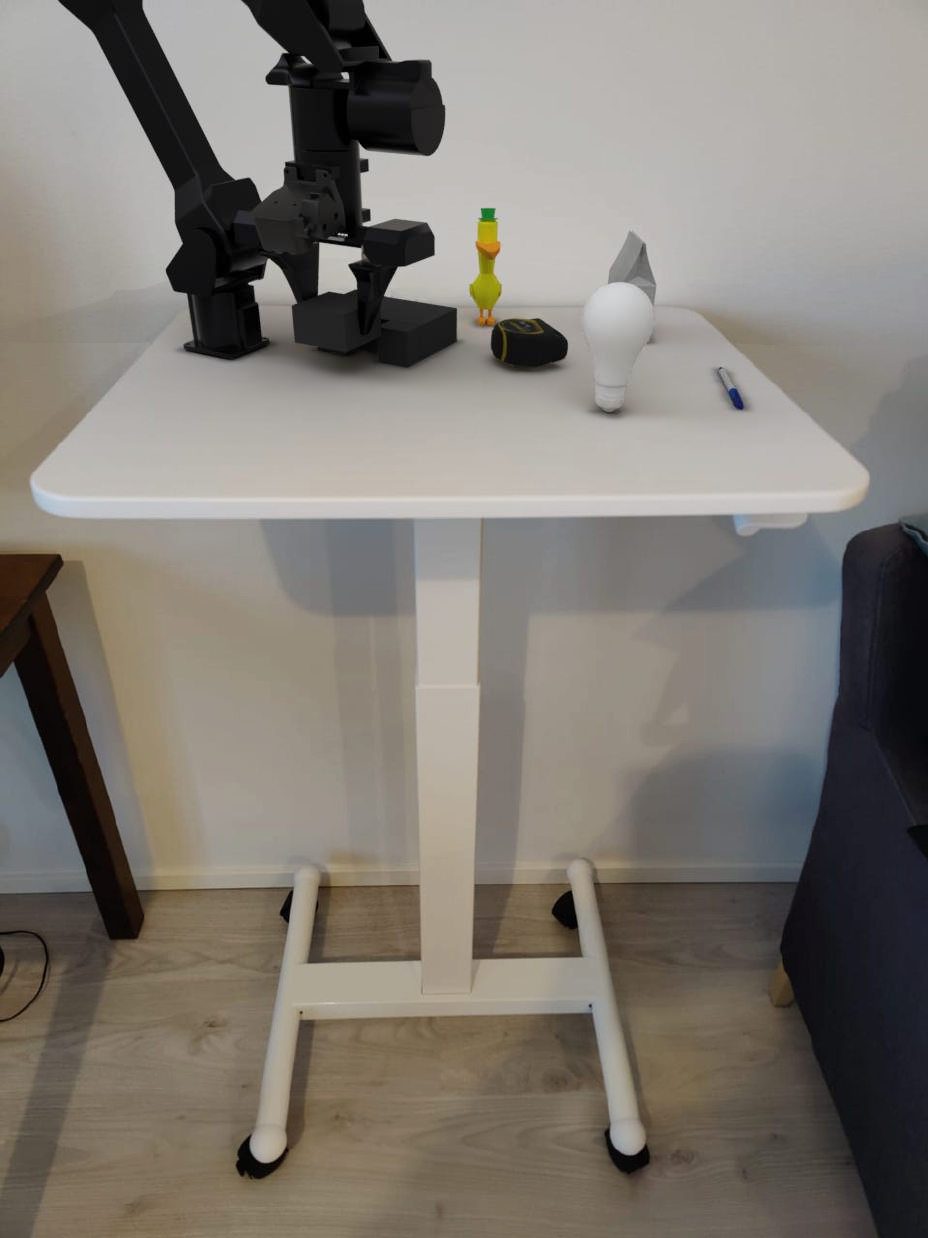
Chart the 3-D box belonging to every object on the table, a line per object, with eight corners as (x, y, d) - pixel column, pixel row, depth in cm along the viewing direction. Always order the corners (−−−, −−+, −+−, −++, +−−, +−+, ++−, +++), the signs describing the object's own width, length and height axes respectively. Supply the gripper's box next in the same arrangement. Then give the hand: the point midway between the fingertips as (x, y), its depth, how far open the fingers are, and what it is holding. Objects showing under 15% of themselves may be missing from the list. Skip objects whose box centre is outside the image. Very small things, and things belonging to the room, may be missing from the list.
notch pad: (317, 349, 95) (314, 315, 93) (370, 325, 103) (369, 293, 101) (408, 367, 91) (407, 331, 89) (456, 341, 98) (457, 307, 96)
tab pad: (294, 342, 88) (291, 305, 86) (342, 322, 94) (340, 286, 92) (346, 352, 86) (344, 314, 84) (392, 331, 91) (391, 294, 89)
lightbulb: (648, 404, 84) (664, 278, 77) (636, 427, 79) (652, 295, 73) (582, 395, 85) (593, 271, 79) (566, 418, 80) (576, 288, 74)
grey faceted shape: (615, 342, 99) (625, 243, 93) (603, 324, 104) (613, 230, 99) (649, 342, 99) (661, 243, 93) (636, 324, 105) (647, 230, 99)
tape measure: (569, 370, 91) (572, 332, 89) (503, 376, 89) (505, 337, 87) (543, 349, 96) (545, 313, 94) (481, 355, 95) (482, 318, 93)
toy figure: (505, 332, 101) (509, 214, 95) (473, 332, 101) (474, 214, 94) (497, 314, 107) (501, 203, 100) (467, 315, 107) (468, 203, 100)
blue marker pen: (746, 411, 83) (748, 400, 82) (736, 411, 83) (738, 400, 82) (722, 372, 92) (724, 362, 91) (713, 372, 92) (715, 362, 91)
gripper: (179, 148, 77) (205, 335, 86) (364, 167, 70) (373, 369, 79) (263, 136, 86) (279, 307, 94) (437, 151, 78) (438, 335, 87)
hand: (337, 328), depth 88 cm, fingers closed on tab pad, 6 cm apart
